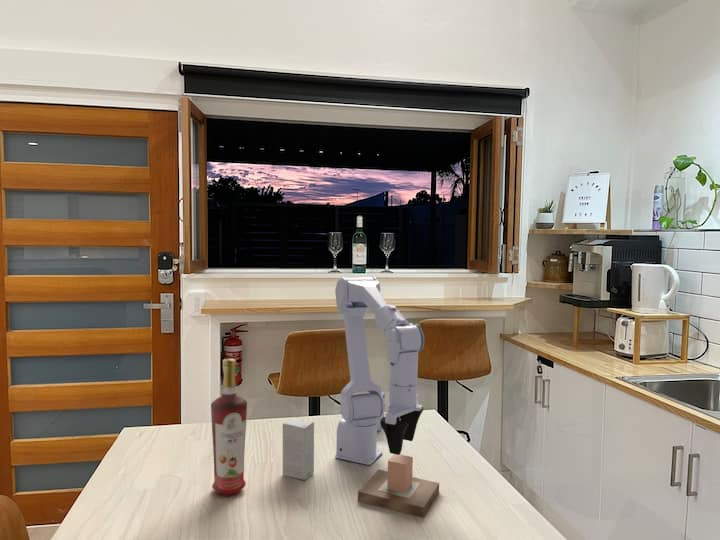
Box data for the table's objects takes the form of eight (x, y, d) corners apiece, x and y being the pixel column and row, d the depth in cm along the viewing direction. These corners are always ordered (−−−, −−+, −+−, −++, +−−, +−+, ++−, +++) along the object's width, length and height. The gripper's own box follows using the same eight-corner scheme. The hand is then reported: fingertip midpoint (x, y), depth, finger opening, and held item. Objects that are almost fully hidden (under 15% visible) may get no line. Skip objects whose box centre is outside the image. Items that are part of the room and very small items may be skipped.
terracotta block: (387, 488, 108) (387, 460, 107) (394, 480, 111) (395, 453, 111) (405, 493, 106) (406, 464, 106) (412, 484, 110) (412, 457, 109)
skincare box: (314, 473, 119) (315, 421, 118) (304, 481, 115) (305, 428, 114) (291, 467, 121) (292, 417, 120) (281, 475, 117) (281, 423, 116)
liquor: (215, 502, 105) (215, 366, 103) (207, 486, 111) (207, 357, 109) (250, 494, 108) (251, 362, 106) (241, 479, 115) (242, 354, 113)
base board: (357, 500, 107) (357, 490, 107) (378, 477, 117) (378, 468, 117) (423, 517, 101) (423, 507, 101) (438, 492, 111) (439, 482, 111)
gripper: (410, 395, 100) (408, 464, 101) (432, 376, 113) (430, 437, 114) (376, 390, 103) (374, 456, 104) (401, 372, 116) (400, 431, 117)
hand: (401, 446), depth 109 cm, fingers open, 7 cm apart
